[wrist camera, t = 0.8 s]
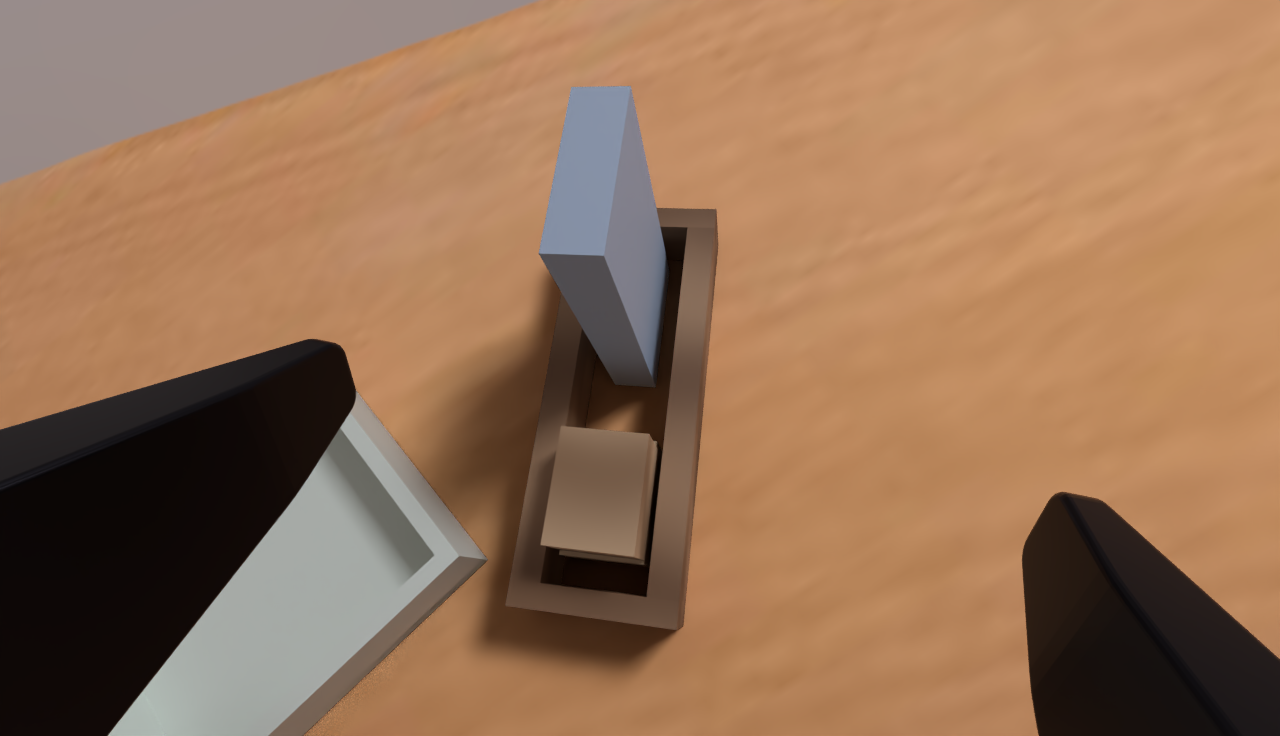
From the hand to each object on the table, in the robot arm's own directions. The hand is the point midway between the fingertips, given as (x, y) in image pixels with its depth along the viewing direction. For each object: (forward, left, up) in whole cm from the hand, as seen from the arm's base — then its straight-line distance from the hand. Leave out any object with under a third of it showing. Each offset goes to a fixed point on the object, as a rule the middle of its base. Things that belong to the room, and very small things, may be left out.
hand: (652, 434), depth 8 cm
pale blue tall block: (+4, +7, -15) cm, 17 cm away
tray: (-13, +10, -15) cm, 22 cm away
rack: (+2, +6, -15) cm, 16 cm away
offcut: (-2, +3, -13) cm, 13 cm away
